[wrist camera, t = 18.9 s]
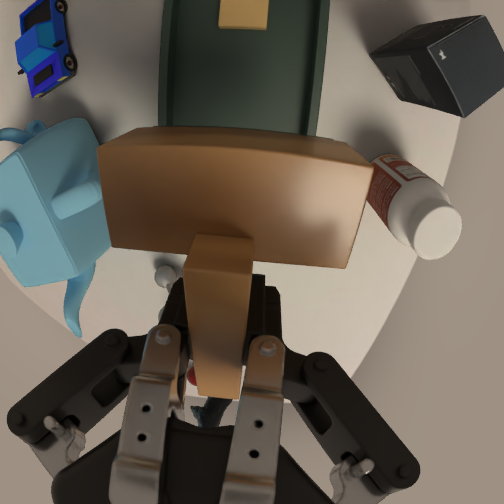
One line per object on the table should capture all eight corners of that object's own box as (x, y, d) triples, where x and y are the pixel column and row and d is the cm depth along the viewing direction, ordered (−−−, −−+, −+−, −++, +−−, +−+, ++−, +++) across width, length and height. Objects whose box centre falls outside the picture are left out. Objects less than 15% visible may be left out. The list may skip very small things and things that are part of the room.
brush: (149, 121, 12) (60, 167, 6) (338, 135, 12) (402, 191, 6) (164, 293, 18) (132, 383, 12) (299, 306, 18) (308, 402, 12)
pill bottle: (377, 217, 29) (419, 281, 20) (348, 175, 26) (391, 230, 17) (419, 186, 26) (475, 239, 17) (394, 141, 24) (457, 180, 15)
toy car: (43, 98, 21) (15, 106, 17) (30, 20, 15) (3, 19, 10) (85, 72, 20) (56, 75, 16) (71, -11, 14) (44, -17, 9)
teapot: (22, 199, 28) (-40, 254, 17) (52, 89, 21) (-40, 118, 10) (120, 267, 34) (76, 347, 23) (177, 167, 27) (119, 238, 15)
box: (400, 101, 21) (464, 120, 13) (367, 54, 19) (424, 45, 10) (448, 69, 18) (517, 79, 10) (419, 23, 16) (485, 12, 7)
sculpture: (174, 361, 46) (157, 437, 33) (231, 356, 44) (223, 440, 31) (195, 384, 50) (183, 452, 38) (247, 380, 48) (243, 454, 36)
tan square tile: (269, -7, 16) (269, -10, 15) (266, 30, 18) (266, 28, 17) (223, -8, 16) (221, -12, 15) (220, 28, 18) (218, 26, 17)
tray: (325, -12, 16) (331, -20, 13) (298, 210, 29) (301, 222, 27) (176, -18, 15) (167, -26, 13) (169, 201, 29) (162, 212, 27)
